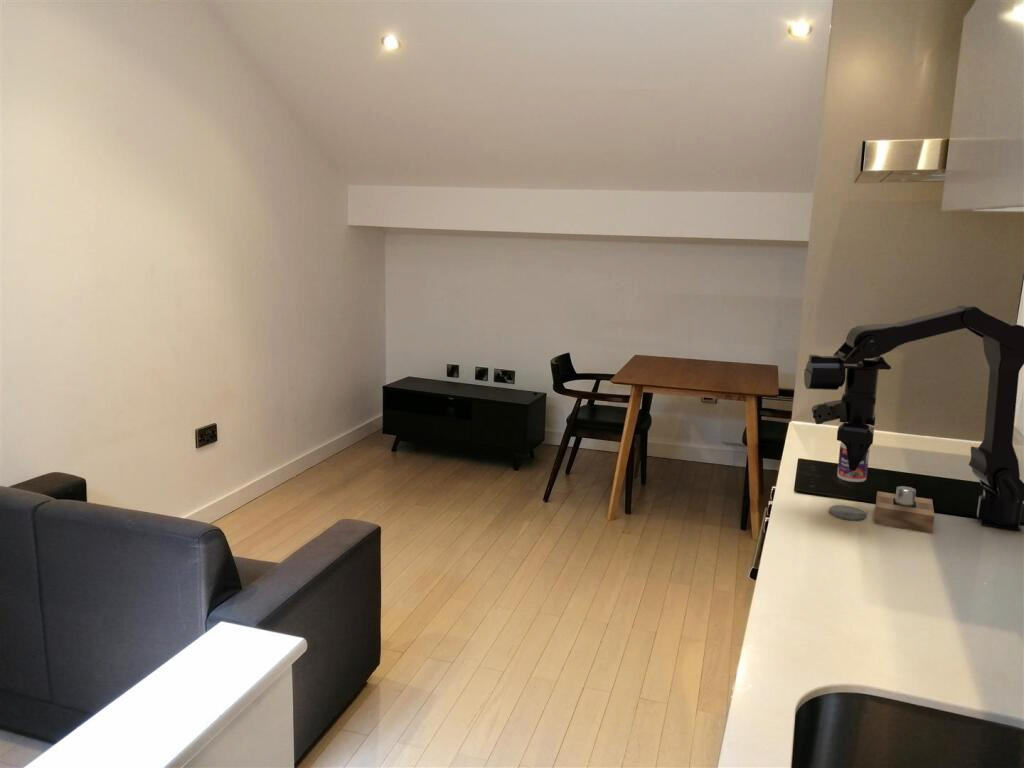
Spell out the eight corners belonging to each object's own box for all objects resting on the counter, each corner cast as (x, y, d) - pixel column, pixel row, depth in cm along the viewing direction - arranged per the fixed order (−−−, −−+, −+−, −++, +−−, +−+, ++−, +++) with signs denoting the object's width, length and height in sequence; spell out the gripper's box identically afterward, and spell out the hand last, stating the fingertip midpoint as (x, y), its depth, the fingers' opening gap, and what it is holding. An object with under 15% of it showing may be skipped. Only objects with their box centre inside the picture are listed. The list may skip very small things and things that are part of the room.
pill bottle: (836, 480, 147) (840, 433, 145) (838, 472, 152) (842, 426, 150) (865, 484, 145) (870, 436, 143) (867, 476, 149) (871, 430, 147)
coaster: (867, 511, 151) (867, 508, 151) (865, 523, 145) (866, 520, 145) (830, 505, 154) (830, 502, 154) (827, 516, 148) (827, 514, 148)
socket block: (930, 515, 149) (932, 499, 148) (932, 533, 140) (934, 515, 140) (875, 507, 154) (877, 491, 153) (874, 523, 145) (876, 506, 144)
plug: (912, 516, 148) (915, 487, 146) (912, 521, 145) (916, 493, 144) (893, 513, 149) (896, 485, 148) (893, 518, 146) (896, 490, 145)
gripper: (820, 378, 156) (814, 449, 159) (811, 395, 140) (805, 473, 143) (878, 383, 151) (871, 456, 154) (876, 401, 135) (868, 482, 138)
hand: (853, 466), depth 148 cm, fingers closed on pill bottle, 5 cm apart
